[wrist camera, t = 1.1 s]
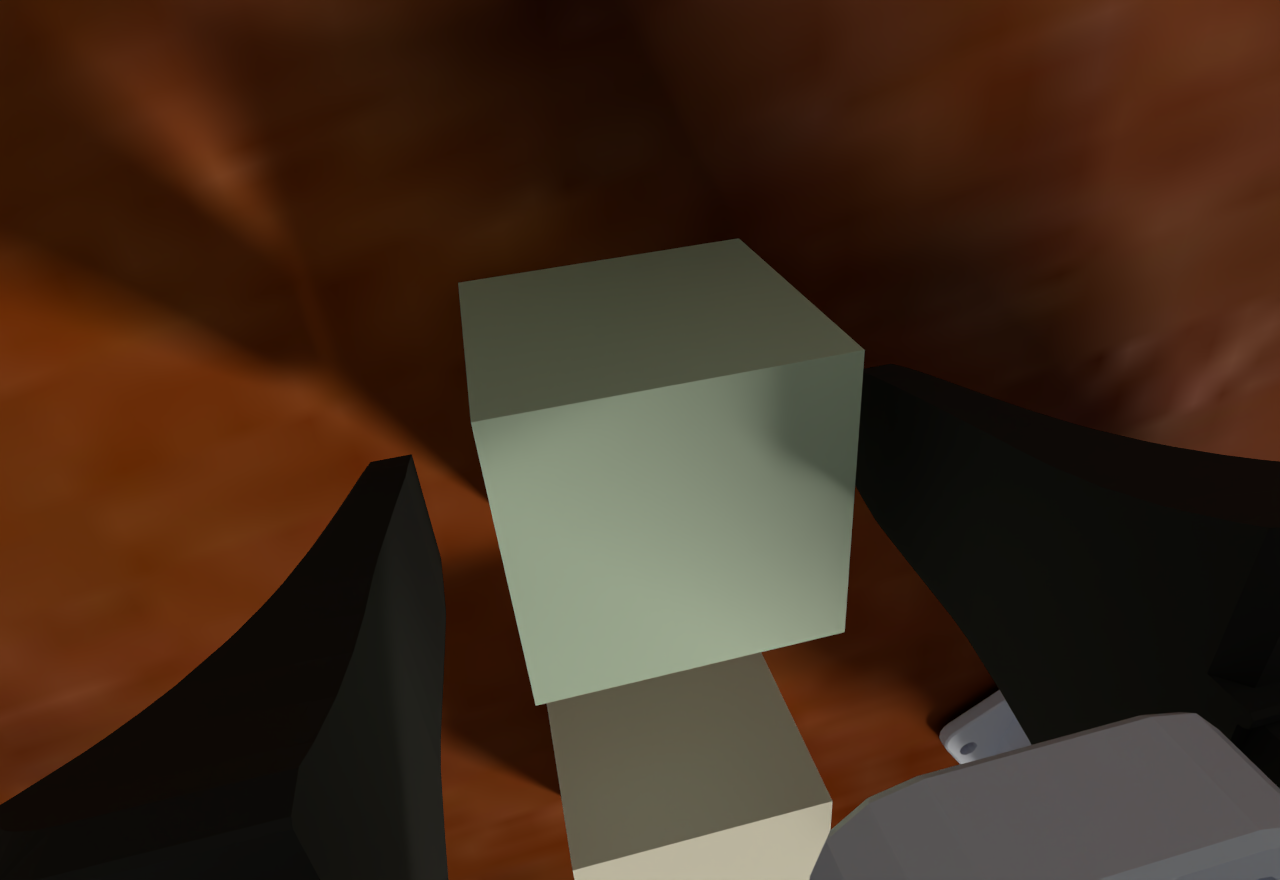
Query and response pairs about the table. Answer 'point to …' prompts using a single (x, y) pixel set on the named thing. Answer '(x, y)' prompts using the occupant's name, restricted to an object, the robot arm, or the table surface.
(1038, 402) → the table surface
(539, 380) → the sage green block
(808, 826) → the cream block
